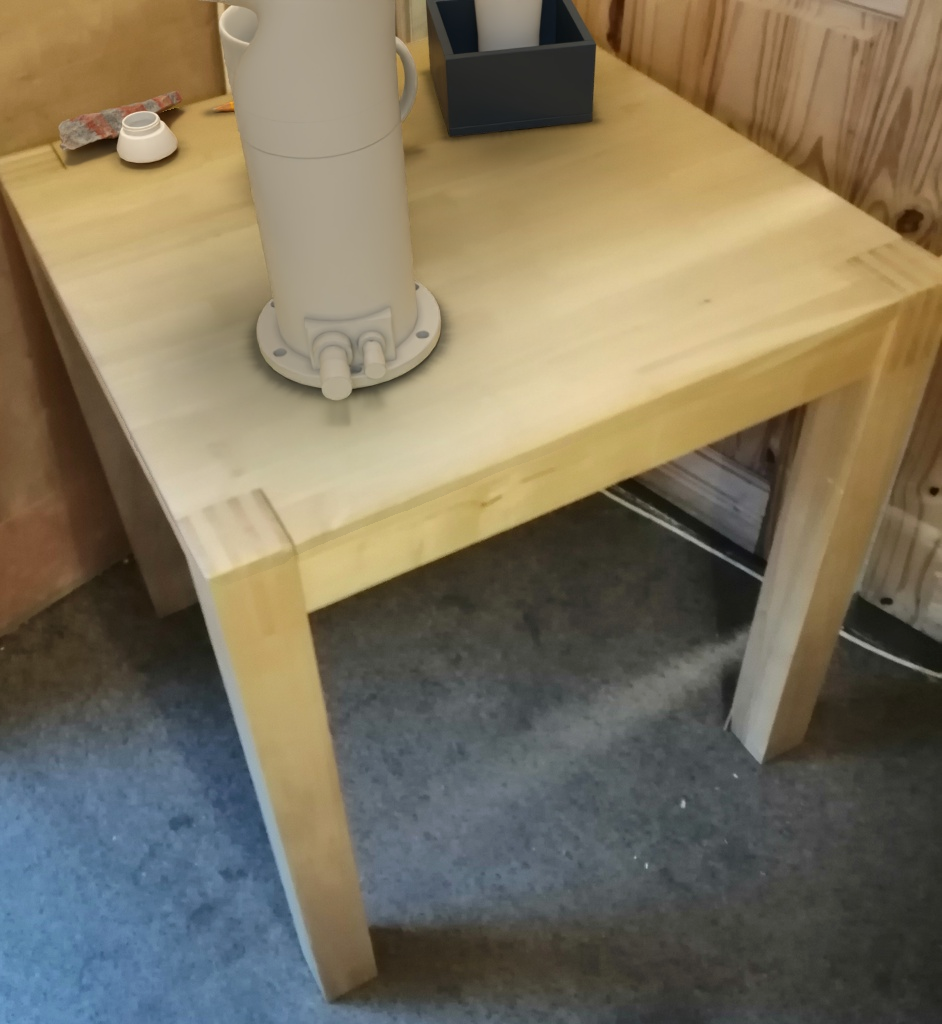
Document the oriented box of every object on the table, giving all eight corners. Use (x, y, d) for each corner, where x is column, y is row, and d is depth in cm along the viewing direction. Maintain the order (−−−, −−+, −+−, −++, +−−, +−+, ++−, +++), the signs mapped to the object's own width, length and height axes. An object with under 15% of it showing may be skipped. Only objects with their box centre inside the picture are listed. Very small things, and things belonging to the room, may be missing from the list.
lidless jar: (185, 158, 91) (170, 132, 94) (176, 125, 89) (162, 100, 92) (126, 172, 90) (114, 146, 93) (117, 139, 88) (104, 113, 91)
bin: (592, 121, 94) (596, 43, 89) (449, 137, 93) (445, 59, 88) (561, 59, 102) (563, -16, 97) (430, 73, 101) (425, -2, 96)
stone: (165, 89, 98) (189, 84, 95) (174, 117, 99) (199, 113, 96) (39, 125, 92) (60, 121, 88) (50, 155, 93) (72, 152, 89)
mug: (397, 121, 95) (383, -35, 85) (446, 179, 88) (437, 16, 78) (233, 161, 91) (200, 2, 81) (271, 224, 84) (240, 59, 74)
